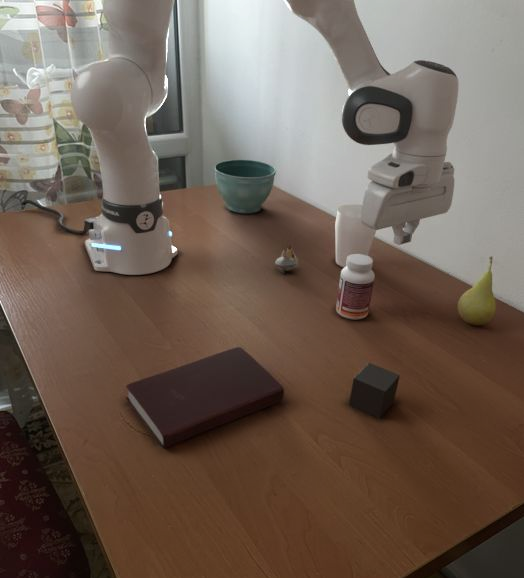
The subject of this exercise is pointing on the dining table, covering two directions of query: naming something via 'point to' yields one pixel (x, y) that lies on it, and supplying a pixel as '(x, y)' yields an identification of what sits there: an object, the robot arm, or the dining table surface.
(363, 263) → the pill bottle
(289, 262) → the figurine
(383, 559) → the dining table surface
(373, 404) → the charcoal block
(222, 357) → the book
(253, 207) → the flower pot
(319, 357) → the dining table surface
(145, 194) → the robot arm
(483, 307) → the fruit
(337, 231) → the cup
